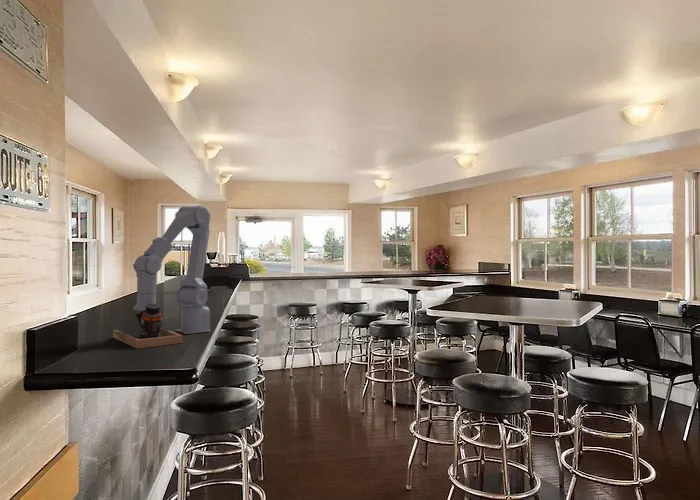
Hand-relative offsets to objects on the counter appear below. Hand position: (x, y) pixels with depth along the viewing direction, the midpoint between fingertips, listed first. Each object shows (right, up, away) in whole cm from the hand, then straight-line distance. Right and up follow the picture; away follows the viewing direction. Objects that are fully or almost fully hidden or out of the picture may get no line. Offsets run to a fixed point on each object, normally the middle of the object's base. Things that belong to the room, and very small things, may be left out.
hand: (145, 335), depth 164 cm
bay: (0, -2, 0) cm, 2 cm away
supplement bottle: (+2, -1, -2) cm, 3 cm away
